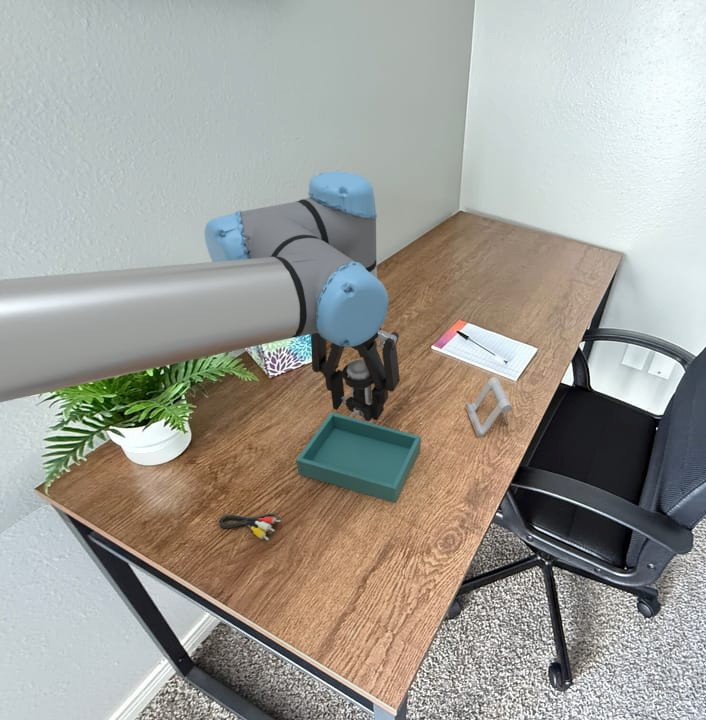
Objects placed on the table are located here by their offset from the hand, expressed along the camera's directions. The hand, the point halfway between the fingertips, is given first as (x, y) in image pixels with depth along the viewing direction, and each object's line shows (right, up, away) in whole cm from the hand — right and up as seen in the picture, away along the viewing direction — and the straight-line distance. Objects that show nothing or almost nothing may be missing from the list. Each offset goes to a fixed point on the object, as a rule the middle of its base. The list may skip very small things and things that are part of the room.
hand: (358, 409), depth 78 cm
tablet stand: (+22, -5, +21) cm, 31 cm away
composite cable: (-16, -19, -3) cm, 25 cm away
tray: (-2, -11, +9) cm, 14 cm away
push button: (0, 0, 0) cm, 0 cm away
